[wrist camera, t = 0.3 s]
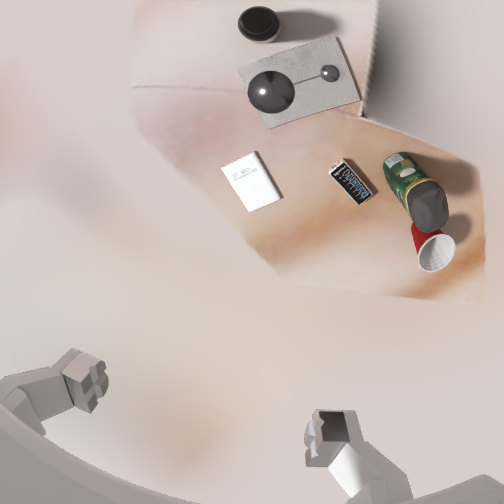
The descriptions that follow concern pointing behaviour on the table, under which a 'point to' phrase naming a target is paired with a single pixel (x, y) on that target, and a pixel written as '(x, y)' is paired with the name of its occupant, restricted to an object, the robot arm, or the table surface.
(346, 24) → the table surface
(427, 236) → the plastic cup
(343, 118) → the table surface
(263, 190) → the external hard drive
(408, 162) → the coffee jar
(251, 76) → the plate
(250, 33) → the supplement bottle
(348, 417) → the robot arm
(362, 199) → the multiport hub
